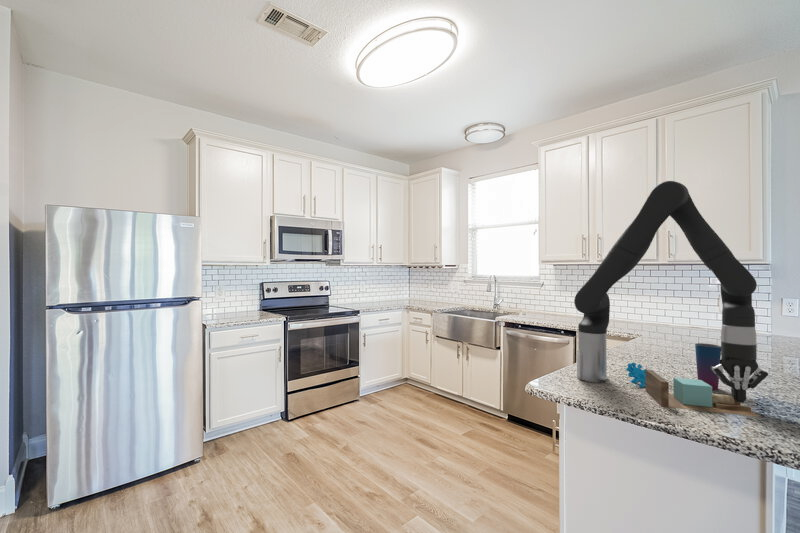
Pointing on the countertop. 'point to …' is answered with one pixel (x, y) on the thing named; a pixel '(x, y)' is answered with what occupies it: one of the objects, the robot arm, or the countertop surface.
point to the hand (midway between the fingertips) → (738, 401)
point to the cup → (707, 363)
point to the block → (692, 392)
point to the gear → (636, 374)
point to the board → (660, 394)
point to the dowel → (722, 399)
